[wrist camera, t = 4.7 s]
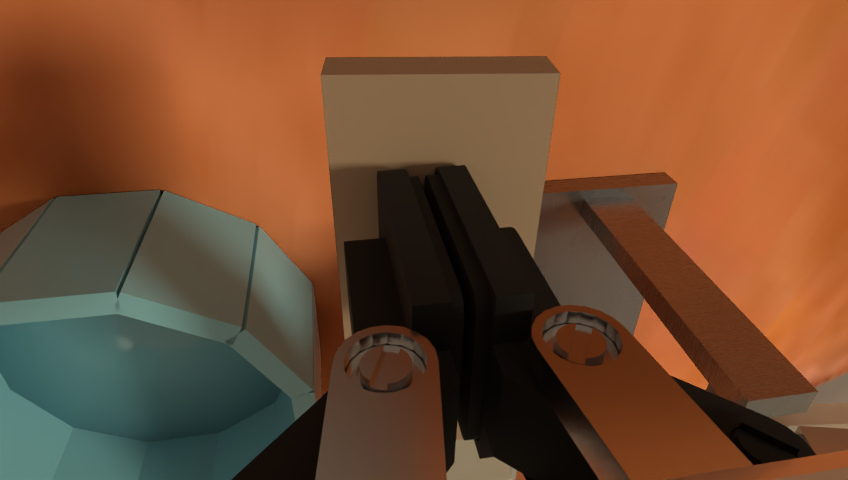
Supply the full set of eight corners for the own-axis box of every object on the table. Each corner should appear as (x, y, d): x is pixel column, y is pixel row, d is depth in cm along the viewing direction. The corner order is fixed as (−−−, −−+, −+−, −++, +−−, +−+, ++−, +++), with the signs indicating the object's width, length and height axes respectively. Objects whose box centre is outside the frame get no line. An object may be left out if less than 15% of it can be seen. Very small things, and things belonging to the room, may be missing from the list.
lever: (1349, 36, 12) (1635, 88, 10) (925, 513, 23) (1003, 607, 20) (330, 40, 11) (313, 100, 8) (370, 542, 21) (367, 646, 19)
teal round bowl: (300, 180, 22) (298, 275, 17) (329, 416, 29) (333, 529, 24) (-101, 207, 20) (-238, 323, 15) (41, 453, 27) (-17, 584, 22)
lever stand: (665, 172, 24) (892, 371, 15) (610, 370, 31) (743, 595, 22) (530, 182, 23) (680, 400, 14) (504, 384, 30) (593, 624, 21)
